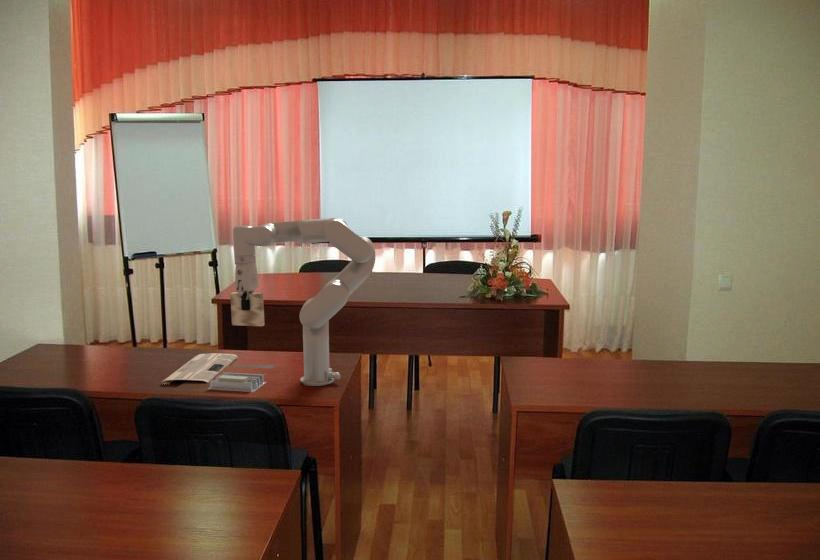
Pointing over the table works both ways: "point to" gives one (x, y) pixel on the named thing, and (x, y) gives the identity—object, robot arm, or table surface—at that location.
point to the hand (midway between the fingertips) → (247, 309)
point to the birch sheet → (247, 316)
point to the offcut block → (233, 378)
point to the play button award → (256, 366)
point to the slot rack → (238, 383)
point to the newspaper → (202, 367)
